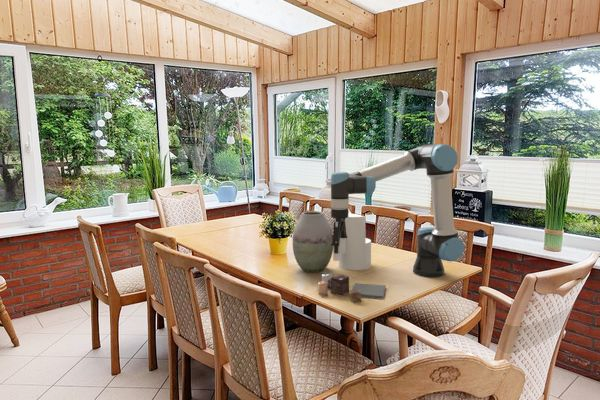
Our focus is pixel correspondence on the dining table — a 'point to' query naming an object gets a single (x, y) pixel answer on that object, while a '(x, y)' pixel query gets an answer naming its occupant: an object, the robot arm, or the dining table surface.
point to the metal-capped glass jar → (327, 279)
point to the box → (339, 284)
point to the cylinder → (356, 244)
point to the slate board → (370, 290)
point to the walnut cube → (355, 295)
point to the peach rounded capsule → (322, 288)
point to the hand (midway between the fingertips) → (339, 256)
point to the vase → (312, 242)
